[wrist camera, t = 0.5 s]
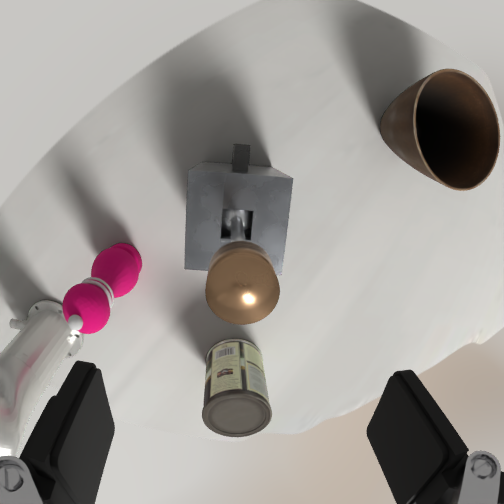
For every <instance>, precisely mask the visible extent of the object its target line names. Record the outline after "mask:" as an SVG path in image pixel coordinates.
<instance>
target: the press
mask: <svg viewBox="0 0 504 504" xmlns="http://www.w3.org/2000/svg"><path fill="white" fill-rule="evenodd" d="M249 154H250V145H241V144H234V147H233V159H232V164H229V163H213V162H202V163H200V164H198V165H197V166H195V167H193V168H192V169H190V170H188V185H187V205H186V231H185V269H189V270H205V271H208V269H209V264H210V261H211V259H212V257H213V255H214V254H215V252H216V251H217V250H218V249H219V248H221V247H222V246H224V245H226V244H228V243H230V242H231V236H221V225H222V210H223V209H236V210H250V211H253V213H252V224H251V235H250V238H249V237H245V240H246V241H248V242H252V243H254V244H257V245H258V246H260V247H261V248H263V249H264V250H265V251H266V253H267V254H268V255H269V257H270V259H271V262H272V264H273V267H274V270H275V273H276V275H282V267H283V259H284V252H285V244H286V235H287V227H288V219H289V210H290V202H291V193H292V184H293V178H292V177H290V176H288V175H286V174H284V173H282V172H280V171H279V170H277V169H275V168H273V167H266V166H255V165H249Z"/></svg>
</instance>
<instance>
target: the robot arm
mask: <svg viewBox="0 0 504 504" xmlns="http://www.w3.org/2000/svg"><path fill="white" fill-rule="evenodd" d="M10 327H11V328H13V329H18V330H19V329H20V330H21V331H20V332H19V333H18V334H17V335H16V336H15V337H14V338H13V340H12V341H11V342H10V343H9V344H8V345H7V346H6V347H5V349H4V350H3V351H2V352H1V353H0V504H95V500H96V496H97V492H98V489H99V485H100V481H101V477H102V474H103V469H104V466H105V463H106V459H107V456H108V452H109V449H110V446H111V442H112V439H113V436H114V431H115V430H114V429H115V427H114V422H113V418H112V414H111V410H110V406H109V403H108V399H107V395H106V391H105V386H104V382H103V378H102V373H101V370H100V369H98V368H96V365H95V364H94V363H89V362H83V361H76V362H75V364H74V365H73V367H72V369H71V371H70V372H69V374H68V376H67V378H66V379H65V381H64V383H63V385H62V386H61V388H60V390H59V392H58V394H57V395H56V396H52V397H51V398H50V400H49V401H48V403H47V405H46V407H45V409H44V410H43V412H42V414H41V416H40V418H39V420H38V422H37V424H36V426H35V427H34V429H33V431H32V433H31V435H30V437H29V439H28V441H27V443H26V445H25V447H24V449H23V451H22V453H21V455H20V458H17V457H15V456H16V455H17V453H18V451H19V449H20V447H21V444H22V440H23V437H24V433H25V430H26V426H27V424H28V421H29V419H30V416H31V414H32V412H33V410H34V408H35V406H36V405H37V403H38V401H39V399H40V398H41V396H42V395H43V393H44V391H45V389H46V388H47V386H48V385H49V383H50V381H51V380H52V378H53V376H54V375H55V373H56V372H57V370H58V368H59V367H60V365H61V364H62V362H63V361H64V359H65V358H70V357H73V356H75V355H76V354H77V353H78V352H79V351H80V349H81V347H82V344H83V334H82V333H80V332H78V331H74V330H72V329H71V328H70V327H69V325H68V323H67V321H66V319H65V317H64V314H63V309H62V305H60V304H59V303H56V302H54V301H50V300H42V301H39V302H37V303H35V304H34V305H33V306H32V307H31V309H30V310H29V313H28V319H27V320H22V321H20V320H17V319H11V320H10ZM367 437H368V439H369V441H370V444H371V446H372V448H373V450H374V452H375V455H376V457H377V459H378V462H379V464H380V466H381V468H382V471H383V473H384V475H385V478H386V480H387V482H388V485H389V487H390V489H391V491H392V493H393V496H394V498H395V501H396V503H397V504H504V472H501V468H500V463H499V461H498V460H497V458H496V457H495V456H494V455H492V454H491V453H489V452H486V451H475V452H474V453H472V454H471V455H470V456H468V455H467V451H469V449H468V448H467V446H466V445H465V443H464V442H463V440H462V439H461V437H460V436H459V435H458V433H457V432H456V430H455V429H454V427H453V426H452V424H451V423H450V422H449V420H448V419H447V417H446V416H445V414H444V413H443V412H442V410H441V409H440V407H439V406H438V405H437V403H436V402H435V400H434V399H433V398H432V396H431V395H430V393H429V392H428V391H427V389H426V388H425V387H424V385H423V384H422V382H421V381H420V380H419V378H418V377H417V376H416V374H415V373H414V372H413V371H412V370H404V371H397V372H395V373H394V374H393V376H391V377H390V378H389V380H388V382H387V385H386V387H385V390H384V392H383V394H382V397H381V399H380V401H379V404H378V406H377V408H376V410H375V412H374V415H373V417H372V419H371V421H370V423H369V425H368V427H367Z"/></svg>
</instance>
